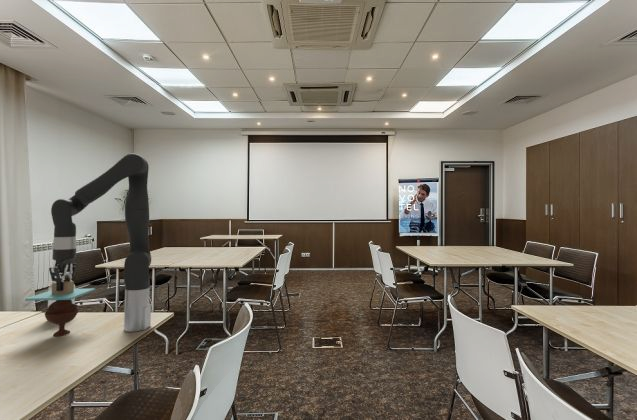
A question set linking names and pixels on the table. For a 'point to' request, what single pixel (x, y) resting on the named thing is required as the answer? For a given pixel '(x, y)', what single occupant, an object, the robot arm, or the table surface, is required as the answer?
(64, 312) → the ice cream bowl
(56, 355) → the table surface
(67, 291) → the teal square mat
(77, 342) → the table surface
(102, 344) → the table surface
